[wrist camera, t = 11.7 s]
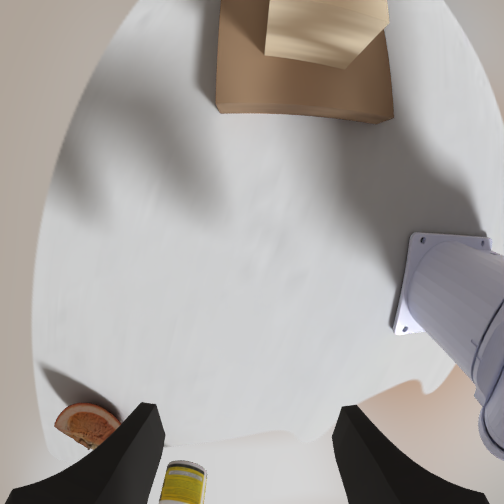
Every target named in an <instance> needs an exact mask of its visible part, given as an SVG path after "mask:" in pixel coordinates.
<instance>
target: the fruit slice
mask: <svg viewBox="0 0 504 504" xmlns="http://www.w3.org/2000/svg"><path fill="white" fill-rule="evenodd" d="M120 425H121V423H120V422H119V421H118V419H117V418H116V417H115V416H113V415H112V414H111V413H110V412H108V411H107V410H105V409H104V408H102V407H100V406H98V405H95V404H92V403H76V404H73V405H70V406H68V407H67V408H65V409H64V410H63V411H62V412H61V413H60V415H59V416H58V418H57V419H56V422H55V425H54V427H56V428H57V429H58V430H60V431H61V432H63V433H64V434H66V435H67V436H69V437H71V438H73V439H74V440H75V441H76V442H78V443H80V444H82V445H84V446H85V447H86V448H88V450H89V449H90V448H91V449H93V450H94V449H95V448H97V447H98V446H99V445H100V444H101V443H102V442H103V441H105V440H106V439H107V438H108V437H109V436H110V435H111V434H112V433H113V432H114V431H115V430H116V429H117V428H118V427H119V426H120Z"/></svg>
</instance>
